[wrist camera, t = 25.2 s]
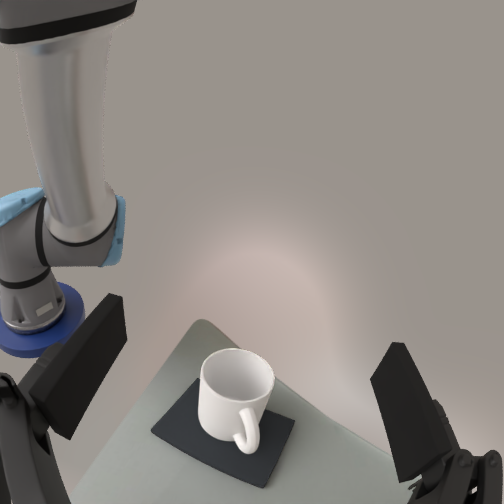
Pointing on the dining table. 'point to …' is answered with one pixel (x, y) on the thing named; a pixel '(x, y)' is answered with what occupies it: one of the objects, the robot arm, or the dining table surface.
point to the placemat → (223, 452)
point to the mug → (234, 396)
